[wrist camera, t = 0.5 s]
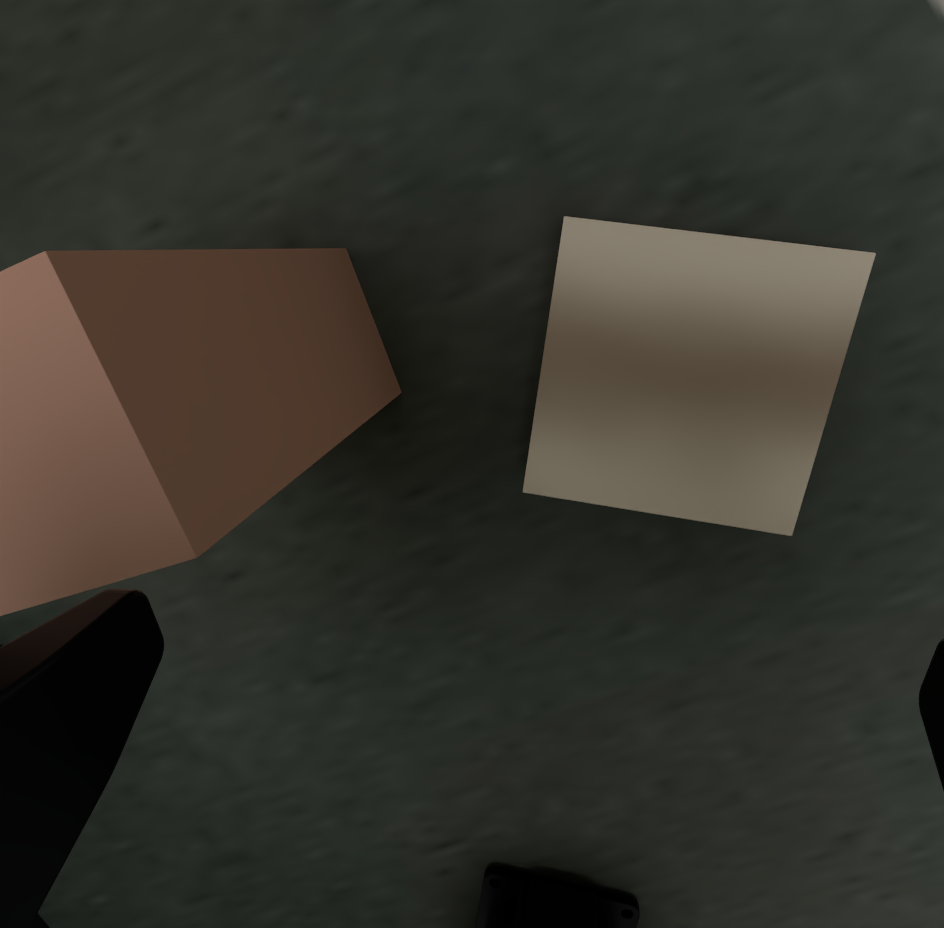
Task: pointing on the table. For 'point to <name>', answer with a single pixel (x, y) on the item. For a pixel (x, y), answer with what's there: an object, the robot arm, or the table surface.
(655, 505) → the slab
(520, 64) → the table surface
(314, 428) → the column
